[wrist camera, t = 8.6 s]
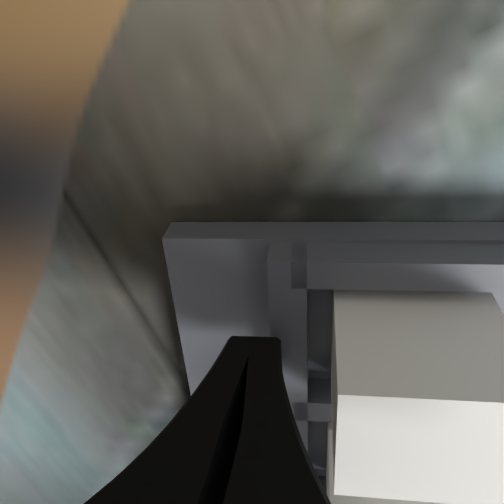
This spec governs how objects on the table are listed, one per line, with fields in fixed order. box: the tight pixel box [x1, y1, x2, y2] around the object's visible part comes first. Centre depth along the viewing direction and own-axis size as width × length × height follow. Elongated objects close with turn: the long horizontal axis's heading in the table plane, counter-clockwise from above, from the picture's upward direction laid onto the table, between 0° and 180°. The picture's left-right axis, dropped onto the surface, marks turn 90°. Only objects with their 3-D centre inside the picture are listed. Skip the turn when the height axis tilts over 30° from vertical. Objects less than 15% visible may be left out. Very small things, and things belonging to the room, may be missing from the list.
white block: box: [331, 289, 504, 504], centre depth 12 cm, size 3×4×4 cm
